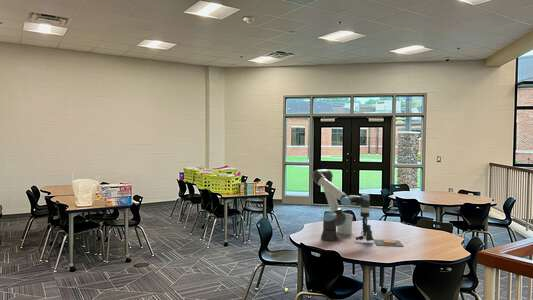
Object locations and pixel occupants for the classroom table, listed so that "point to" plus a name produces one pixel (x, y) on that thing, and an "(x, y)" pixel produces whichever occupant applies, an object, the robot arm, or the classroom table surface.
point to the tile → (388, 241)
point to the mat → (380, 243)
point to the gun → (368, 234)
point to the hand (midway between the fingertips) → (364, 238)
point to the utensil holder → (346, 226)
